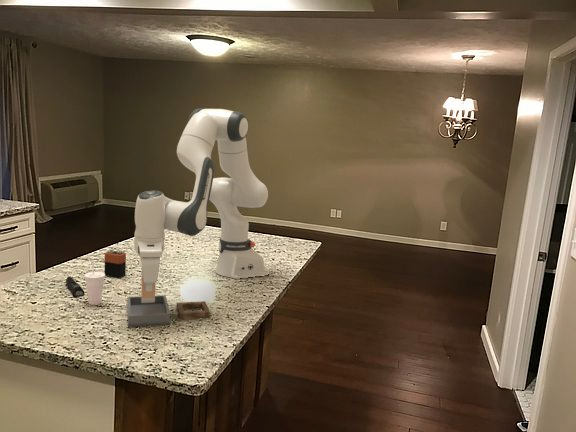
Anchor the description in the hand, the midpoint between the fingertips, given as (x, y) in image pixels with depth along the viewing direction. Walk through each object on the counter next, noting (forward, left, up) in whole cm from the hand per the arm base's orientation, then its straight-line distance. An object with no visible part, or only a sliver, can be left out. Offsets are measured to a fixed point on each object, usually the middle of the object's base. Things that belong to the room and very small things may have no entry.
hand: (148, 287), depth 150 cm
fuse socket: (-14, 0, -9) cm, 17 cm away
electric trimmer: (+23, -27, -10) cm, 37 cm away
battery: (+10, -41, -10) cm, 43 cm away
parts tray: (0, 0, -9) cm, 9 cm away
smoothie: (+16, -13, -9) cm, 23 cm away
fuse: (0, 0, -4) cm, 4 cm away
